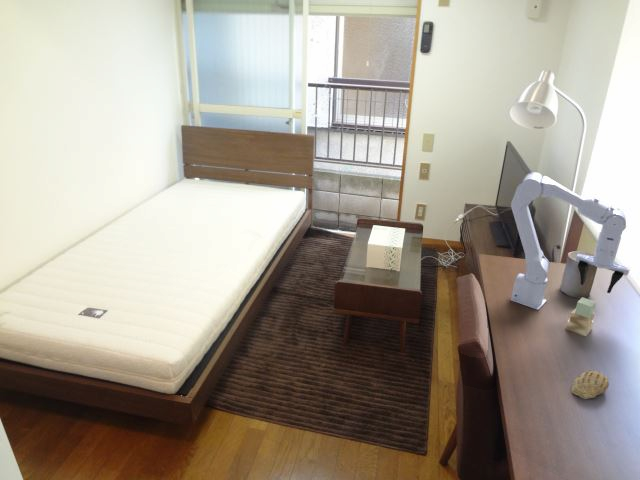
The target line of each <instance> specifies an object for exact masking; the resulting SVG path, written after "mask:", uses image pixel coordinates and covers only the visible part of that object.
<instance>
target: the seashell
mask: <svg viewBox="0 0 640 480" xmlns="http://www.w3.org/2000/svg"><path fill="white" fill-rule="evenodd" d="M571 385H572V386H571V389H570V392H571V394H573V395H576V396H578V397H580V398H582V399H584V400H587V399H591V398H592V399H595V398H596V397H597V396H599V395H601V394H604V393H605V392H606V391H607V390H608V388H609V386H610V381H609V378H608V377H607V376H606V375H605V374H604V373H601V372H600V371H596V370H590V369H589V370H587V371H583V372H582V373H580V374H579V375H577V377H576V378H575V379H574V380H573V382H572V384H571Z"/></svg>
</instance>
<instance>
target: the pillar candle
mask: <svg viewBox="0 0 640 480" xmlns="http://www.w3.org/2000/svg"><path fill="white" fill-rule="evenodd" d="M578 254H581V255H587V256H594V253H593V254H592V253H590V252H588V251H579V250H575V251H574V250H573V251H570V252H568V253H567V257H566V258H567V260H566V263H565V267H564V271H563V274H562V278H561V284H560V287H559V289H560V291H561V292H563V293H564V294H565V295H567V296H569V297H571V298H577V299H581V298H582V297H583V298H586V299H587V298H588V297H590V295H591V291H592V287H593V284H594V282H595V278H596V274H597V269H598V267H596V266H594V265H591V264H590V265H589V268H588V271H587V275H586V280H585V283H584V284H583V285H581V276H580V271H579V268H578V264H579V262H577V261H576V257H577V255H578Z"/></svg>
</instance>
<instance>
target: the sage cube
mask: <svg viewBox="0 0 640 480" xmlns="http://www.w3.org/2000/svg"><path fill="white" fill-rule="evenodd" d="M596 304H597V301H595V300H591V299H588V298H587V297H586V298H583V297H582V298H579V300H578V301H577V303H576V307H575V309H576V310H575V309H574V310H575V314H578V315H581V316H583V317H586V318H589V317H590V316H591V315H592V314H593V313H594V312H595V311H594V310H595V307H596Z"/></svg>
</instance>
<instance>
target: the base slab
mask: <svg viewBox="0 0 640 480" xmlns="http://www.w3.org/2000/svg"><path fill="white" fill-rule="evenodd" d="M569 320H570V318H568V320H567V321H566V326H565V330H567V331H571V332H573V333H574V334H575V333H576V334H579V335H581V336H584V337H587V336H588V335H589V333H590V332H591V330H592V328H593V325H594V320H593V321H592V322H591V323H590V324H589V325H588V326H587V327H584V326H581V325H579V324H576V323H574V322H571V321H569Z"/></svg>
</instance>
